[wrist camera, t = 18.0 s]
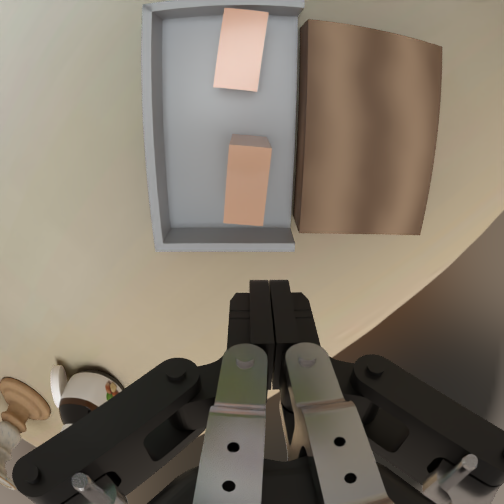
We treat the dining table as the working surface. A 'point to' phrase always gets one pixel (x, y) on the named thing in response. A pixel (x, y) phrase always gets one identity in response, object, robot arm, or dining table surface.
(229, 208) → the tile
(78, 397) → the spread jar
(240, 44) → the tile
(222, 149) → the box
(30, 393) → the candle holder
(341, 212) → the brown slab
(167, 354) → the dining table surface
